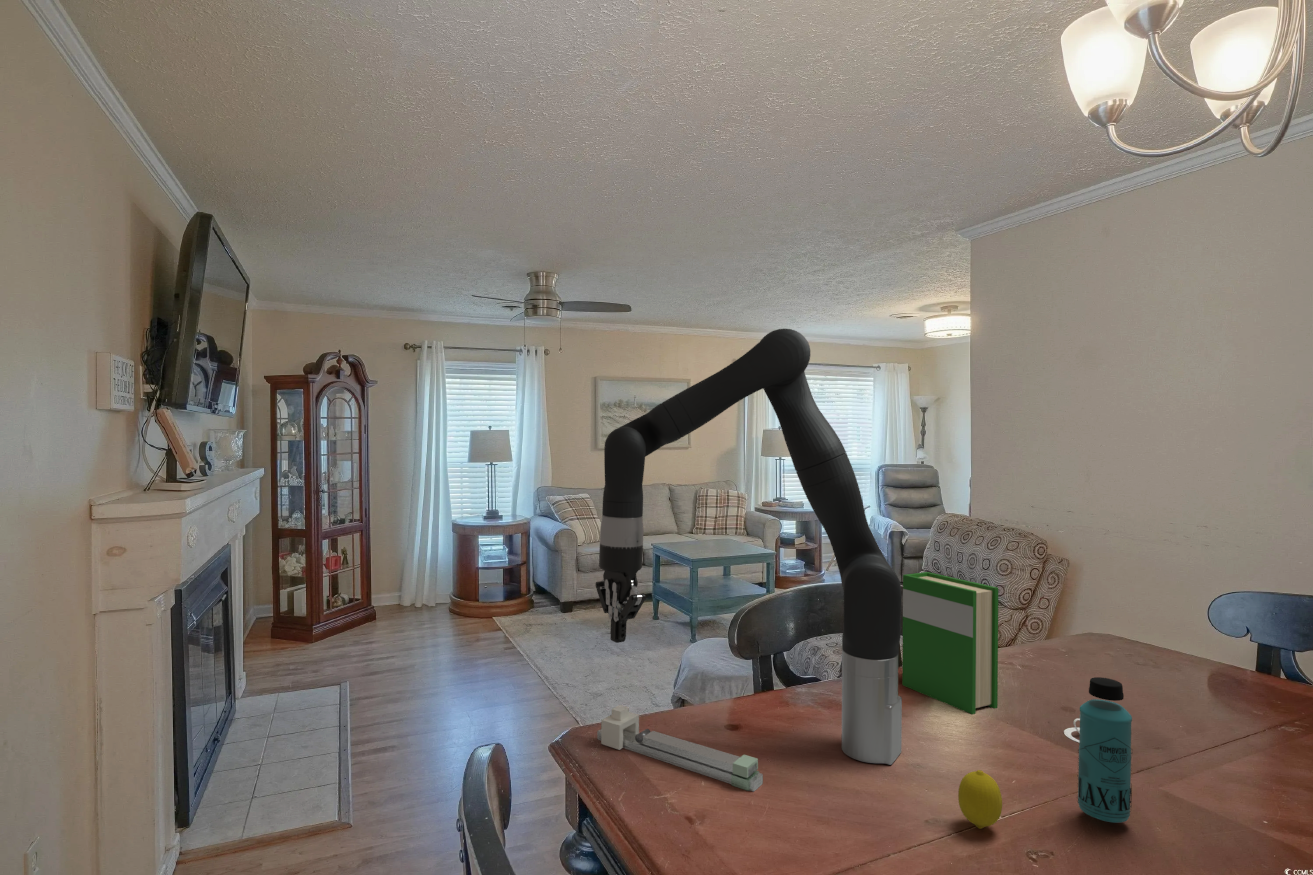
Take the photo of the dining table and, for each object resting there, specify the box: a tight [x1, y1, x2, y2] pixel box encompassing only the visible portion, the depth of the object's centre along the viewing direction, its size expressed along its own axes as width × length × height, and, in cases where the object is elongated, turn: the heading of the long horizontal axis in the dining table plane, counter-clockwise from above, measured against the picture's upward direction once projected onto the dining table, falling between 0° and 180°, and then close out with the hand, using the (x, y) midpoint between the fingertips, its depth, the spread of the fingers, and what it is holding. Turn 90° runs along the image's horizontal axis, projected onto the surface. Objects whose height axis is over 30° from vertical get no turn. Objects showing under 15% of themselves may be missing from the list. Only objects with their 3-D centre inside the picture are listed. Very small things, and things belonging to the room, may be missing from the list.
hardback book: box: [901, 571, 999, 715], centre depth 145 cm, size 18×7×24 cm, turn 27°
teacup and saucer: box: [1063, 717, 1080, 744], centre depth 126 cm, size 9×8×4 cm
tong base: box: [596, 728, 764, 792], centre depth 116 cm, size 31×4×3 cm, turn 55°
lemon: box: [957, 769, 1003, 830], centre depth 97 cm, size 6×6×8 cm
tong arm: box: [643, 730, 759, 778], centre depth 114 cm, size 20×4×2 cm, turn 55°
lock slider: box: [600, 704, 640, 751], centre depth 123 cm, size 4×6×6 cm
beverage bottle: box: [1076, 676, 1133, 824], centre depth 98 cm, size 6×7×20 cm
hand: (617, 640), depth 121 cm, fingers closed
